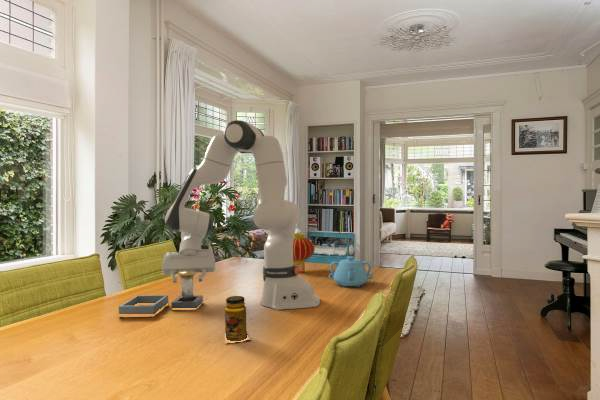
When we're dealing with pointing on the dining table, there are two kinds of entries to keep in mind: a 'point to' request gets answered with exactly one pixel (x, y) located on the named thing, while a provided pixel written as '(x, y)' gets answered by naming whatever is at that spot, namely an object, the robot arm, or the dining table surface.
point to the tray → (143, 309)
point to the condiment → (235, 319)
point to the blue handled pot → (350, 272)
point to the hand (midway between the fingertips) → (187, 281)
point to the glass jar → (187, 285)
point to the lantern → (302, 249)
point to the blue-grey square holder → (187, 302)
